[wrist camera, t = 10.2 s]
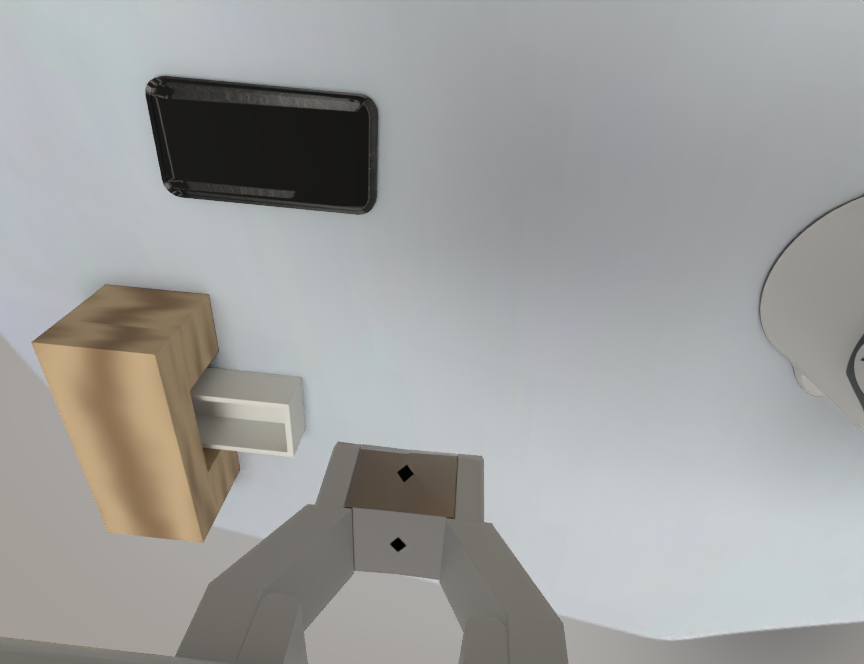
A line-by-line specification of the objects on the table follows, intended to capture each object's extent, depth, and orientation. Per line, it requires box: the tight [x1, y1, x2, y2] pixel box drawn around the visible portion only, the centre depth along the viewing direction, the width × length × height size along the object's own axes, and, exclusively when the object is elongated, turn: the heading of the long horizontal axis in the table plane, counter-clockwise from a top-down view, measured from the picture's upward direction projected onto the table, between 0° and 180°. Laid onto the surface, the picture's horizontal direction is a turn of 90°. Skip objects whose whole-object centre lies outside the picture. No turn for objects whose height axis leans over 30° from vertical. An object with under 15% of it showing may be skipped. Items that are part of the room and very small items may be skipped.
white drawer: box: [190, 368, 305, 457], centre depth 47 cm, size 14×6×4 cm, turn 86°
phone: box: [145, 76, 378, 215], centre depth 37 cm, size 8×1×15 cm
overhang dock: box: [31, 285, 240, 543], centre depth 45 cm, size 8×20×8 cm, turn 176°
